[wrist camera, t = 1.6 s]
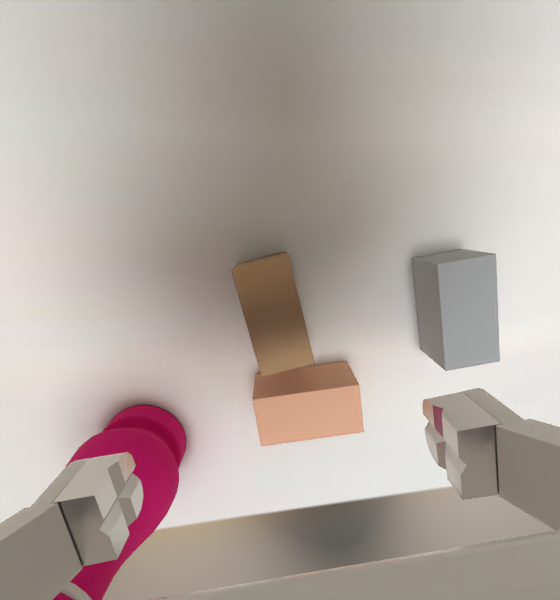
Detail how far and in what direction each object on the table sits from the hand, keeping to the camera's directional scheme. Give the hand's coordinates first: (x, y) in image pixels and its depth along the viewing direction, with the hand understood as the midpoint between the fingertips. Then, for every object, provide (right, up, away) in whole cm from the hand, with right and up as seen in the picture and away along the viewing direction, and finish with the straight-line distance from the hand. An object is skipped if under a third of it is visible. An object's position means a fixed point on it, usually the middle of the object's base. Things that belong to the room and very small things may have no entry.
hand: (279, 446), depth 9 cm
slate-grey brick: (+12, +4, +15) cm, 20 cm away
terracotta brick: (+2, -3, +17) cm, 17 cm away
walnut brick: (0, +4, +15) cm, 16 cm away
